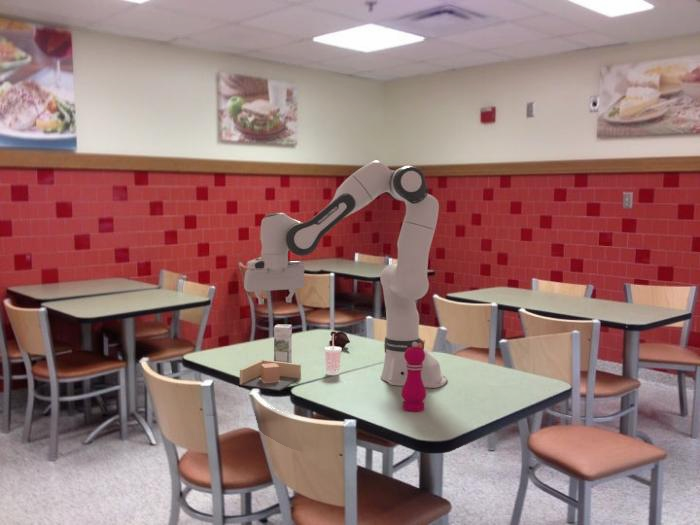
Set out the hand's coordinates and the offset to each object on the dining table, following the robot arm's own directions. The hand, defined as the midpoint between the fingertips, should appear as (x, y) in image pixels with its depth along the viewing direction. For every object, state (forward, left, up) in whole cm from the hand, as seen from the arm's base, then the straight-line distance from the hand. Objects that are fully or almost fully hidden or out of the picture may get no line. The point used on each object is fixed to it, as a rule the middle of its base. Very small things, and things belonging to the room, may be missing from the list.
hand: (275, 303), depth 213 cm
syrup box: (+8, -20, -26) cm, 34 cm away
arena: (0, +3, -26) cm, 26 cm away
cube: (+1, +2, -26) cm, 26 cm away
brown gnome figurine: (-1, -53, -26) cm, 59 cm away
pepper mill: (-51, +9, -26) cm, 58 cm away
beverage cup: (-14, -16, -26) cm, 34 cm away
